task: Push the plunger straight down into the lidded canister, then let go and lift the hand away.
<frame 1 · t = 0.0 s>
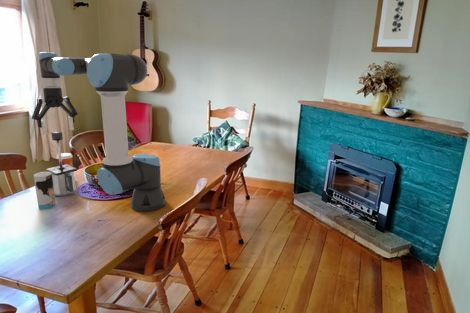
hand: (57, 132, 158), 28 cm above the table, fingers open, 13 cm apart
cup: (47, 206, 143), on the table
plunger: (59, 154, 153), point 19 cm above the table, slide at 0.0 cm
paper cup: (67, 180, 175), on the table
lidded canister: (64, 192, 158), on the table
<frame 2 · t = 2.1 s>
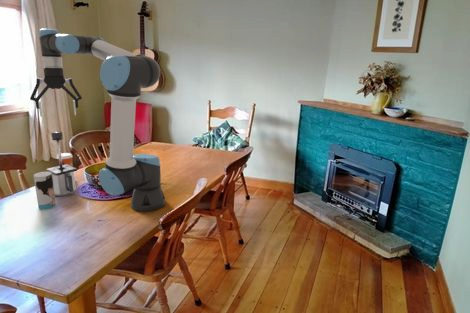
hand: (58, 115, 149), 37 cm above the table, fingers open, 13 cm apart
nothing on the table moved.
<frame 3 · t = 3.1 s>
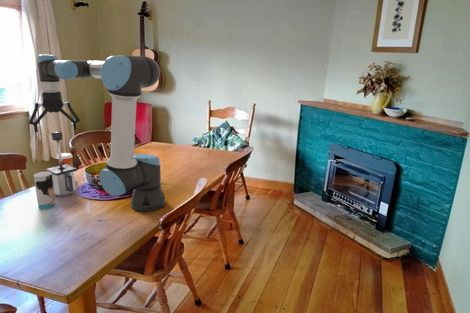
hand: (57, 138, 151), 27 cm above the table, fingers open, 13 cm apart
nothing on the table moved.
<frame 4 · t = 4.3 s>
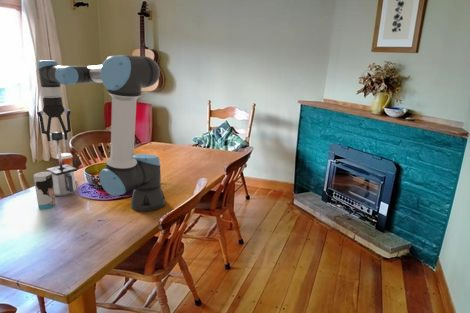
hand: (58, 147, 152), 23 cm above the table, fingers closed on plunger, 4 cm apart
plunger: (59, 154, 153), point 19 cm above the table, slide at 0.0 cm, touching gripper
everything else where it was.
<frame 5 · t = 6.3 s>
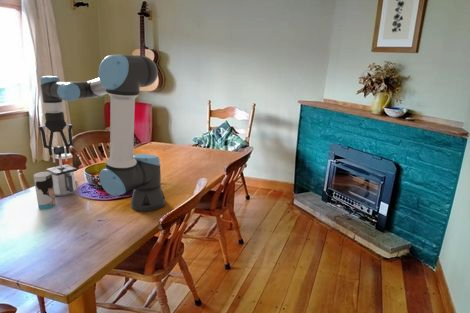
hand: (60, 161, 154), 16 cm above the table, fingers closed on plunger, 4 cm apart
plunger: (61, 168, 155), point 12 cm above the table, slide at 6.6 cm, touching gripper
everything else where it was.
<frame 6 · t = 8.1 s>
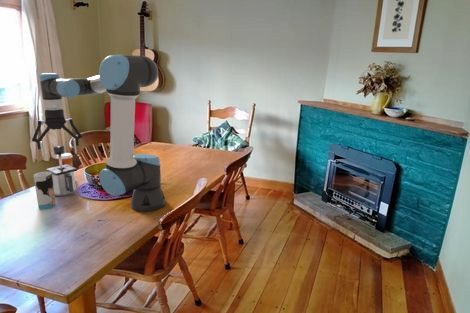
hand: (59, 154, 153), 19 cm above the table, fingers open, 13 cm apart
plunger: (61, 168, 155), point 12 cm above the table, slide at 6.6 cm
everything else where it was.
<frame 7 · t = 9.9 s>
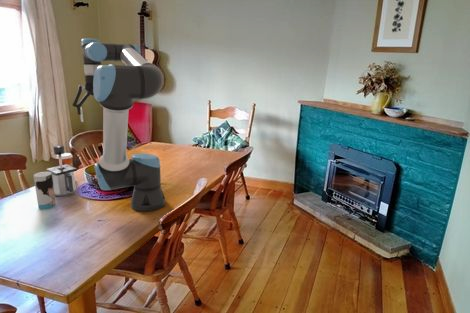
hand: (97, 120, 156), 34 cm above the table, fingers open, 13 cm apart
nothing on the table moved.
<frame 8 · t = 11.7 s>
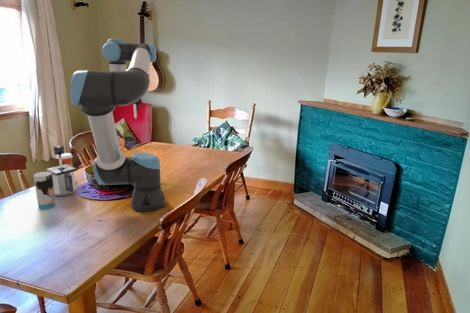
hand: (121, 118, 161), 35 cm above the table, fingers open, 13 cm apart
nothing on the table moved.
at the end: plunger slide at 6.6 cm; the gripper is holding nothing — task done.
